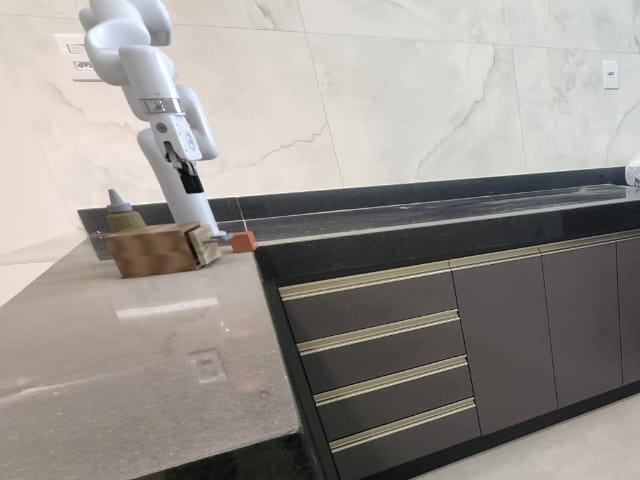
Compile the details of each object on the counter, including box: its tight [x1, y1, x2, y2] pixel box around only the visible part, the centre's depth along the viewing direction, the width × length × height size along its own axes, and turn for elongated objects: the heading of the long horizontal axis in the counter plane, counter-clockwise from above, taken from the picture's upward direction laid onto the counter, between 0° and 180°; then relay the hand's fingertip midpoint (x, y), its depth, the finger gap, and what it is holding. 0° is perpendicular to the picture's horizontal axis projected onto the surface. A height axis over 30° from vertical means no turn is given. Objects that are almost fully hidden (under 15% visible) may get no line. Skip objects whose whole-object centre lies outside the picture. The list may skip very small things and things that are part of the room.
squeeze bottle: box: [105, 188, 147, 234], centre depth 136 cm, size 8×8×18 cm
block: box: [228, 230, 259, 254], centre depth 145 cm, size 5×5×5 cm
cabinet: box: [102, 221, 204, 279], centre depth 129 cm, size 15×13×10 cm
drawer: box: [183, 224, 234, 266], centre depth 130 cm, size 18×11×8 cm, turn 111°
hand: (195, 193), depth 127 cm, fingers closed
